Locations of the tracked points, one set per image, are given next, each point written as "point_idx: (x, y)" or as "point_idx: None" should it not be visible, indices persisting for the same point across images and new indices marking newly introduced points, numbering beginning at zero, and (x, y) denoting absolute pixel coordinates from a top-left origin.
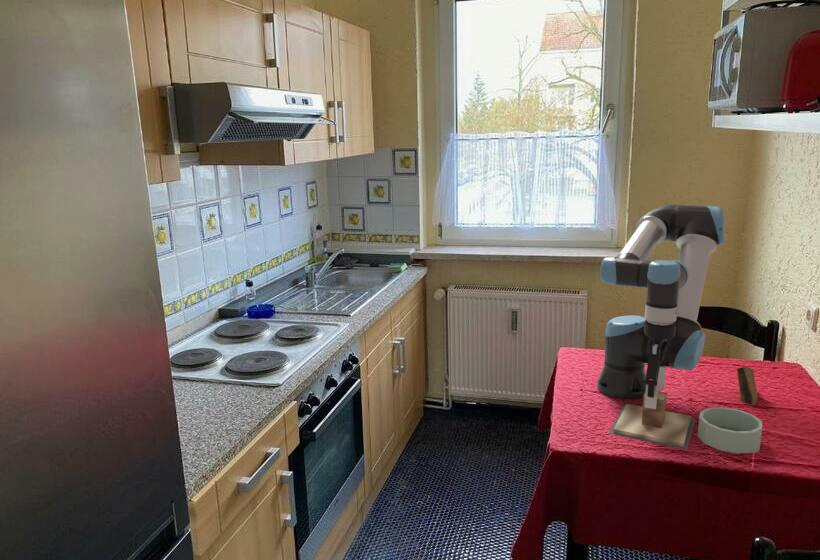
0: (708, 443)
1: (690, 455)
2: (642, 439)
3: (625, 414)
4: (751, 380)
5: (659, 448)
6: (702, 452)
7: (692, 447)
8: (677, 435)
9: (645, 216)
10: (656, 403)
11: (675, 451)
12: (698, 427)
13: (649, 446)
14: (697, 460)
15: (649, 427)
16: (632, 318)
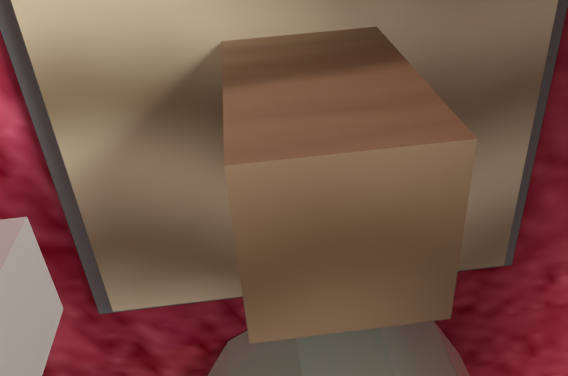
0: (219, 372)
1: (78, 321)
2: (36, 90)
3: None
4: None
5: (34, 192)
6: (150, 349)
7: (173, 310)
8: (193, 267)
9: None
10: (43, 354)
11: (66, 263)
12: (297, 357)
13: (12, 139)
14: (51, 351)
15: (203, 104)
16: None
